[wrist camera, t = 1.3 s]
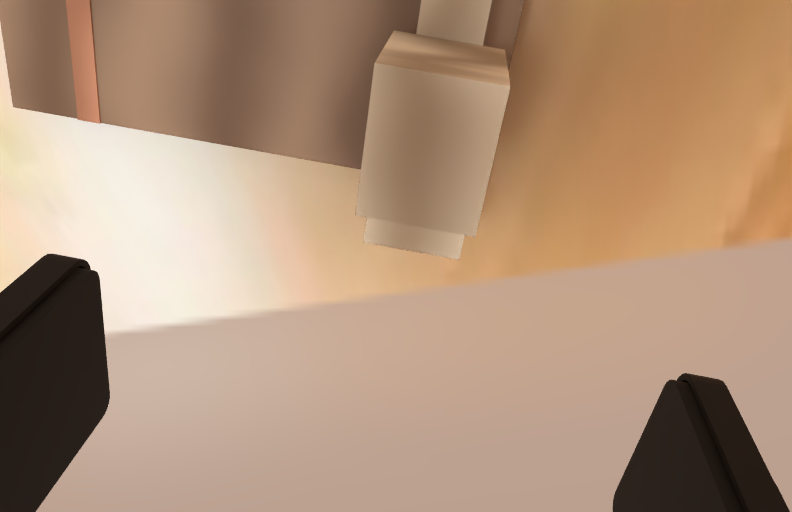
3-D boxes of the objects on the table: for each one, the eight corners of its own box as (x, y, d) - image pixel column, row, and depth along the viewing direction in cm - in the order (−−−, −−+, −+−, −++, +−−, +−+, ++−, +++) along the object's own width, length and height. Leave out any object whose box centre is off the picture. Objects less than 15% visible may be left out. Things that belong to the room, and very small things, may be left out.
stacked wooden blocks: (516, -38, 26) (531, -5, 18) (461, 213, 31) (455, 323, 23) (414, -55, 26) (386, -30, 18) (378, 198, 31) (344, 303, 23)
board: (534, -65, 25) (538, -61, 24) (480, 173, 30) (480, 191, 29) (7, -154, 26) (-29, -157, 24) (39, 94, 31) (11, 107, 29)
